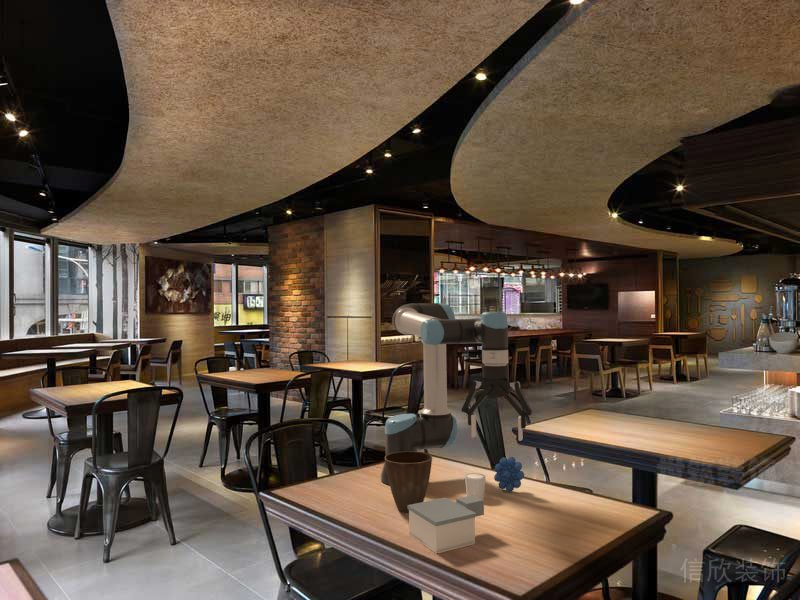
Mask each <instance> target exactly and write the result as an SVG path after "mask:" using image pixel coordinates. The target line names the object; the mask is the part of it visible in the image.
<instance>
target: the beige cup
mask: <svg viewBox="0 0 800 600" xmlns="http://www.w3.org/2000/svg"><path fill="white" fill-rule="evenodd" d="M464 481H465V490H466V496H471V495H474V496H476V497H478V498H480V499H482V500H484V499H485V488H486V475H485V474H482V473H475V472H474V473H467V474H465V475H464Z"/></svg>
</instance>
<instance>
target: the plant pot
mask: <svg viewBox="0 0 800 600" xmlns="http://www.w3.org/2000/svg"><path fill="white" fill-rule="evenodd" d="M432 462H433V456H432V455H431V454H430V453H426V452H421V451H417V452H412V451H406V452H396V453H391V454H388V455H386V454H385V456H384V463H385V464H386V470H387V476H388V480H389V484H390V485H389V487H390V491H391V494H392V497H393V500H394V503H395V506H396V508H397V510H398V511H399V512H402V513H409V509H408V508H407V505H411V504H416V503H421V502H425V498H426V495H427V491H428V486H429V483H430V478H431V477H430V476H431V472H432V471H431V470H432Z"/></svg>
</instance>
